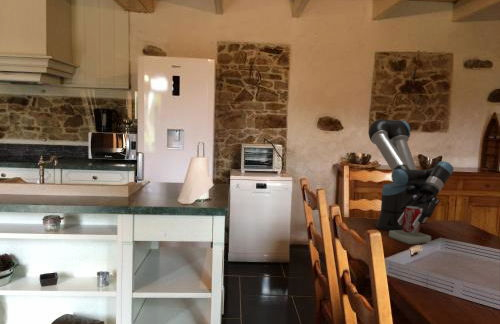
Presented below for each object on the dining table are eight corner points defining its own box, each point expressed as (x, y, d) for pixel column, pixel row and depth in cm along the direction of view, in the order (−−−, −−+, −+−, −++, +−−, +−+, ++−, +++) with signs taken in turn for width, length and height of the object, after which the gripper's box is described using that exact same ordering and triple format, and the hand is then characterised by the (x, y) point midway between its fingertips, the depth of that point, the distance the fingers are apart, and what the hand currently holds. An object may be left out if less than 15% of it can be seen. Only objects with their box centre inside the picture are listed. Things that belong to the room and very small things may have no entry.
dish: (388, 237, 181) (389, 230, 180) (409, 235, 185) (410, 229, 185) (408, 244, 169) (409, 237, 169) (430, 242, 173) (431, 236, 173)
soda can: (421, 235, 172) (422, 208, 171) (404, 234, 173) (406, 207, 172) (417, 232, 179) (419, 206, 178) (401, 230, 180) (403, 205, 179)
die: (426, 222, 221) (417, 208, 225) (433, 218, 213) (424, 203, 217) (414, 228, 220) (405, 213, 223) (421, 223, 212) (412, 208, 215)
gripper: (454, 196, 174) (429, 235, 167) (415, 190, 191) (391, 225, 184) (448, 185, 171) (423, 224, 164) (409, 180, 188) (385, 215, 181)
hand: (406, 224), depth 174 cm, fingers closed on soda can, 7 cm apart
